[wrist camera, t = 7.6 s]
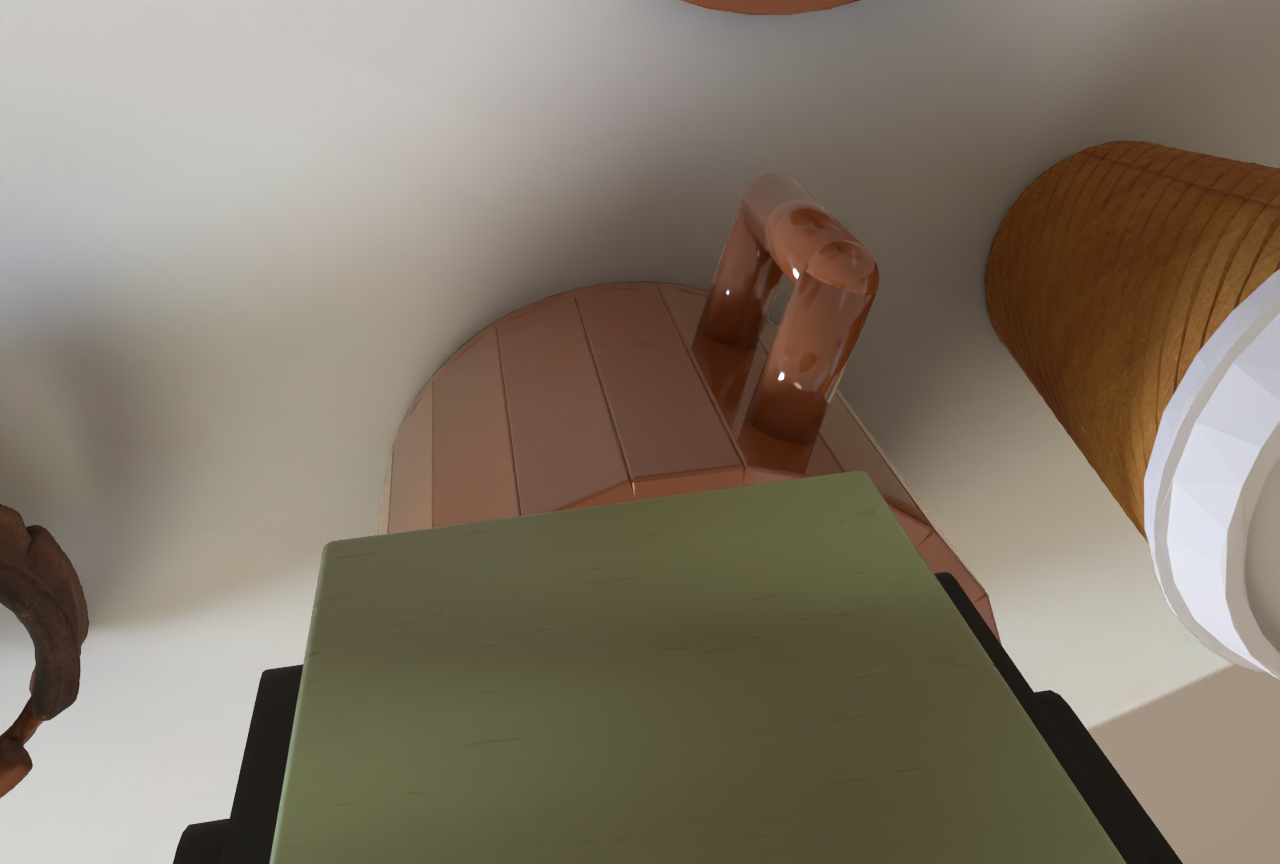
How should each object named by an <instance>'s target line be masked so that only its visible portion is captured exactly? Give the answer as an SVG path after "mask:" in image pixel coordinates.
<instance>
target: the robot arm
mask: <svg viewBox="0 0 1280 864" xmlns="http://www.w3.org/2000/svg"><path fill="white" fill-rule="evenodd" d="M934 575H935V576H936V578H937V579H938V581H939V582H940V584H941V585H942V587H943V588H944V590H945V591H946V593H947V594H948V596H949V597H950V599H951V600H952V602H953V603H954V605H955V606H956V608H957V609H958V611H959V612H960V614H961V615H962V617H963V618H964V620H965V621H966V623H967V624H968V626H969V627H970V629H971V630H972V632H973V633H974V635H975V636H976V638H977V640H978V641H979V643H980V644H981V646H982V647H983V649H984V650H985V652H986V653H987V655H988V656H989V658H990V659H991V661H992V662H993V664H994V665H995V667H996V668H997V670H998V671H999V673H1000V674H1001V676H1002V677H1003V679H1004V680H1005V682H1006V683H1007V685H1008V686H1009V688H1010V689H1011V691H1012V692H1013V694H1014V695H1015V697H1016V698H1017V700H1018V701H1019V703H1020V704H1021V706H1022V707H1023V709H1024V710H1025V712H1026V713H1027V715H1028V716H1029V718H1030V719H1031V721H1032V722H1033V724H1034V725H1035V727H1036V728H1037V730H1038V731H1039V733H1040V734H1041V736H1042V737H1043V739H1044V740H1045V742H1046V743H1047V745H1048V746H1049V748H1050V749H1051V751H1052V752H1053V754H1054V755H1055V757H1056V758H1057V760H1058V761H1059V763H1060V764H1061V766H1062V767H1063V769H1064V770H1065V772H1066V773H1067V775H1068V776H1069V778H1070V779H1071V781H1072V782H1073V784H1074V785H1075V787H1076V788H1077V790H1078V791H1079V793H1080V794H1081V796H1082V797H1083V799H1084V800H1085V802H1086V803H1087V805H1088V806H1089V808H1090V810H1091V811H1092V813H1093V814H1094V816H1095V817H1096V819H1097V820H1098V822H1099V823H1100V825H1101V826H1102V828H1103V829H1104V831H1105V832H1106V834H1107V835H1108V837H1109V838H1110V840H1111V841H1112V843H1113V844H1114V846H1115V847H1116V849H1117V850H1118V852H1119V853H1120V855H1121V856H1122V858H1123V859H1124V861H1125V862H1126V864H1183V863H1182V862H1181V860H1180V859H1179V858H1178V856H1177V855H1176V854H1175V852H1174V851H1173V849H1172V848H1171V846H1170V845H1169V844H1168V843H1167V841H1166V840H1165V838H1164V837H1163V835H1162V834H1161V833H1160V831H1159V830H1158V828H1157V827H1156V826H1155V824H1154V823H1153V821H1152V820H1151V819H1150V817H1149V816H1148V815H1147V813H1146V812H1145V810H1144V809H1143V807H1142V806H1141V805H1140V803H1139V802H1138V800H1137V799H1136V798H1135V796H1134V795H1133V794H1132V792H1131V791H1130V789H1129V788H1128V787H1127V786H1126V784H1125V782H1124V781H1123V780H1122V778H1121V777H1120V775H1119V774H1118V773H1117V771H1116V770H1115V768H1114V767H1113V766H1112V764H1111V763H1110V761H1109V760H1108V759H1107V757H1106V756H1105V755H1104V753H1103V752H1102V750H1101V749H1100V748H1099V746H1098V745H1097V743H1096V742H1095V741H1094V739H1093V738H1092V737H1091V735H1090V734H1089V732H1088V731H1087V729H1086V728H1085V727H1084V725H1083V724H1082V722H1081V721H1080V720H1079V718H1078V717H1077V716H1076V714H1075V713H1074V711H1073V710H1072V709H1071V707H1070V706H1069V705H1068V704H1067V702H1066V701H1065V700H1064V699H1063V698H1062V697H1061V696H1060V695H1059V694H1057V693H1055V692H1053V691H1051V690H1048V691H1041V692H1035V693H1034V692H1033V691H1032V689H1031V688H1030V686H1029V685H1028V683H1027V682H1026V680H1025V679H1024V677H1023V676H1022V675H1021V673H1020V672H1019V670H1018V669H1017V667H1016V666H1015V664H1014V663H1013V661H1012V660H1011V659H1010V657H1009V656H1008V654H1007V653H1006V651H1005V650H1004V648H1003V647H1002V645H1001V644H1000V643H999V641H998V640H997V638H996V637H995V635H994V634H993V632H992V631H991V629H990V628H989V627H988V625H987V624H986V622H985V621H984V619H983V618H982V616H981V615H980V613H979V612H978V611H977V609H976V608H975V606H974V605H973V603H972V602H971V600H970V599H969V597H968V596H967V595H966V593H965V592H964V590H963V589H962V587H961V586H960V584H959V583H958V581H957V580H956V579H955V578H954V576H953V575H952V574H951V573H948V572H941V573H934ZM302 670H303V665H297V666H290V667H283V668H276V669H269V670H265V671H264V672H263V673H262V676H261V679H260V683H259V688H258V692H257V697H256V701H255V706H254V710H253V715H252V720H251V724H250V729H249V733H248V738H247V742H246V747H245V752H244V756H243V761H242V765H241V770H240V774H239V779H238V784H237V788H236V793H235V797H234V802H233V806H232V811H231V816H230V819H223V820H217V821H211V822H204V823H198V824H192V825H189V826H188V827H187V828H186V829H185V830H184V832H183V833H182V836H181V839H180V841H179V844H178V847H177V850H176V854H175V858H174V862H173V864H269V863H270V858H271V852H272V846H273V840H274V834H275V828H276V822H277V817H278V811H279V805H280V799H281V793H282V787H283V781H284V776H285V770H286V764H287V758H288V752H289V746H290V740H291V735H292V729H293V723H294V717H295V711H296V705H297V699H298V694H299V688H300V682H301V676H302Z"/></svg>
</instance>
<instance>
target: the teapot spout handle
mask: <svg viewBox="0 0 1280 864" xmlns="http://www.w3.org/2000/svg"><path fill="white" fill-rule="evenodd" d="M784 274H785V275H786V277H787V278H788V279H789V280H790V282H791V283H792V284H793V285H794V288H793V291H792V293H791V296H790V298H789V301H788V304H787V306H786V309H785V312H784V314H783V317H782V319H781V322H780V325H779V327H778V330H777V333H776V335H775V338H774V340H773V343H772V346H771V348H770V351H769V354H768V356H767V359H766V361H765V364H764V367H763V369H762V372H761V375H760V377H759V380H758V383H757V385H756V388H755V390H754V393H753V396H752V398H751V401H750V404H749V406H748V409H747V411H746V415H745V416H746V419H747V421H748V422H749V423H750V424H751V425H752V426H753V427H754V428H756V429H757V430H759V431H761V432H762V433H764V434H766V435H768V436H771V437H773V438H776V439H779V440H782V441H786V442H790V443H797V444H807V443H811V442H814V441H815V440H816V438H817V436H818V433H819V431H820V429H821V426H822V424H823V421H824V419H825V416H826V414H827V412H828V409H829V407H830V404H831V402H832V399H833V397H834V395H835V392H836V390H837V387H838V385H839V382H840V380H841V378H842V375H843V373H844V370H845V368H846V365H847V363H848V361H849V358H850V356H851V353H852V351H853V348H854V346H855V344H856V341H857V339H858V336H859V334H860V331H861V329H862V327H863V324H864V322H865V319H866V317H867V314H868V312H869V310H870V307H871V305H872V302H873V300H874V297H875V295H876V293H877V289H878V286H879V269H878V266H877V263H876V260H875V259H874V257H873V255H872V254H871V253H870V252H869V251H868V250H867V249H866V248H865V247H864V246H863V245H862V244H861V243H860V242H859V241H858V240H857V239H856V238H855V237H854V236H853V235H852V234H851V233H850V232H849V231H848V230H847V229H846V228H845V227H843V226H842V225H841V224H840V223H839V222H838V221H837V220H836V219H835V218H834V217H833V216H832V215H831V214H830V213H829V212H828V211H827V210H826V209H825V208H824V207H823V206H822V205H820V204H819V203H818V202H817V201H816V200H815V199H814V198H813V197H812V196H811V195H810V194H809V193H808V192H807V191H806V190H805V189H804V188H803V187H802V186H801V185H800V184H798V183H797V182H796V181H795V180H794V179H792V178H791V177H789V176H787V175H784V174H778V173H771V174H766V175H763V176H760V177H758V178H757V179H755V180H754V181H753V182H752V183H751V184H750V185H749V186H748V187H747V189H746V190H745V192H744V194H743V197H742V200H741V203H740V205H739V208H738V211H737V214H736V217H735V220H734V223H733V225H732V228H731V231H730V234H729V237H728V240H727V243H726V245H725V248H724V251H723V254H722V257H721V260H720V263H719V265H718V268H717V271H716V274H715V277H714V280H713V283H712V285H711V288H710V291H709V294H708V297H707V300H706V303H705V306H704V308H703V311H702V314H701V317H700V320H699V323H698V326H697V327H698V329H699V331H700V332H701V333H703V334H704V335H705V336H707V337H709V338H711V339H713V340H715V341H717V342H720V343H722V344H725V345H729V346H733V347H738V348H754V347H756V346H757V345H758V342H759V340H760V337H761V334H762V332H763V329H764V326H765V324H766V321H767V318H768V316H769V313H770V310H771V308H772V305H773V302H774V300H775V297H776V294H777V292H778V289H779V286H780V284H781V281H782V278H783V276H784Z"/></svg>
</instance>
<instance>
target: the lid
mask: <svg viewBox="0 0 1280 864" xmlns="http://www.w3.org/2000/svg"><path fill="white" fill-rule="evenodd" d="M680 1H684V2H687V3H691V4H694V5H697V6H701V7H704V8H707V9H712V10H719V11H726V12H733V13H740V14H747V15H792V14H799V13H806V12H813V11H821V10H828V9H832V8H835V7H839V6H842V5H846V4H849V3H853V2H856V1H860V0H680Z"/></svg>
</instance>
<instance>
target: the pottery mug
mask: <svg viewBox="0 0 1280 864" xmlns="http://www.w3.org/2000/svg"><path fill="white" fill-rule="evenodd" d="M0 603H1V604H3V605H4V606H6V607H7V608H8V609H10V610H11V611H12V612H13V613H15V615H16V616H17V618H18V619H19V620H20V621H21V622H22V623H23V625H24V626H25V628H26V629H27V631H28V632H29V634H30V636H31V638H32V640H33V643H34V646H35V660H36V665H35V669H34V671H33V673H32V677H31V681H30V687H29V690H30V693H31V697H30V699H29V701H28V702H27V704H26V706H25V707H24V709H23V711H22V712H21V714H20V715H19V717H18V718H17V719H16V721H15V722H14V723H13V725H12V726H11V727H10V728H9V729H8V730H7V731H5V732H4V733H3V734H2V735H1V736H0V798H1V797H3V796H4V795H5V794H7V793H8V792H9V791H10V790H12V789H13V788H14V787H15V786H16V785H17V784H18V783H19V782H20V781H21V780H22V779H23V778H24V777H25V776H26V775H27V774H28V773H29V771H30V770H31V769H32V766H33V765H32V761H31V758H30V756H29V754H28V752H27V751H26V750H25V749H24V747H23V745H24V744H25V743H26V742H27V741H28V740H29V739H30V738H31V737H32V735H33V734H34V733H35V731H36V729H37V727H38V726H39V725H40V724H41V723H42V722H43V721H47V720H50V719H52V718H54V717H55V716H57V715H58V714H59V713H61V712H62V711H63V710H65V709H66V708H68V707H69V706H70V705H72V704H73V703H74V701H75V700H76V698H77V695H78V691H79V679H80V658H79V657H80V654H81V645H82V643H83V642H84V640H85V638H86V637H87V633H88V626H89V620H88V611H87V605H86V601H85V598H84V593H83V589H82V586H81V584H80V581H79V578H78V575H77V573H76V571H75V569H74V567H73V565H72V563H71V561H70V560H69V558H68V557H67V555H66V554H65V553H64V552H63V550H62V549H61V548H60V546H59V545H58V543H57V542H56V541H55V539H54V537H53V536H52V535H51V534H50V533H49V532H48V531H47V530H46V529H45V528H43V527H42V526H39V525H32V526H28V527H25V525H24V522H23V519H22V517H21V515H20V514H19V513H18V512H17V511H16V510H14V509H12V508H9V507H7V506H4V505H1V504H0Z"/></svg>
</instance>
